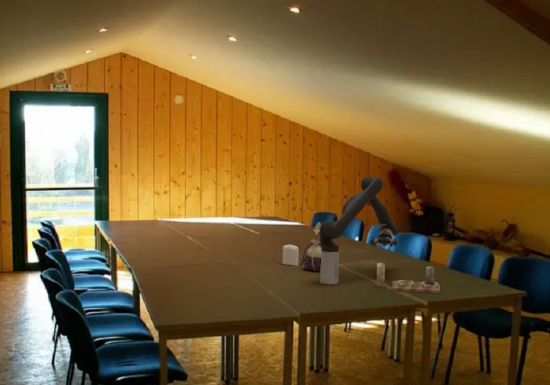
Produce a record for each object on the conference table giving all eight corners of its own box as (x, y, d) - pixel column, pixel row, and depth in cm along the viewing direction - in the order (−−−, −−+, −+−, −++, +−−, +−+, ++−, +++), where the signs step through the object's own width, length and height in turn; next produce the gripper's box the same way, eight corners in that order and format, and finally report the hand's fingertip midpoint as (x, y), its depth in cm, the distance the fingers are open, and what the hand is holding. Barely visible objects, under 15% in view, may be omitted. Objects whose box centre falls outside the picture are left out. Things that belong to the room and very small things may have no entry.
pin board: (391, 290, 314) (392, 268, 313) (392, 283, 331) (393, 262, 330) (440, 293, 309) (441, 271, 308) (438, 286, 326) (439, 264, 325)
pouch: (294, 269, 367) (294, 237, 365) (302, 267, 373) (302, 236, 372) (329, 275, 351) (330, 241, 350) (337, 272, 358) (338, 240, 356)
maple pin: (376, 286, 322) (376, 264, 321) (376, 285, 326) (377, 262, 325) (384, 287, 321) (384, 264, 320) (384, 285, 325) (385, 263, 324)
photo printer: (299, 265, 380) (299, 245, 379) (296, 266, 376) (296, 246, 375) (284, 263, 385) (285, 243, 384) (281, 264, 381) (281, 244, 380)
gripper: (372, 230, 350) (369, 238, 334) (398, 231, 346) (395, 238, 330) (373, 243, 351) (369, 251, 336) (398, 244, 347) (396, 252, 332)
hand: (382, 245), depth 333 cm, fingers open, 8 cm apart
